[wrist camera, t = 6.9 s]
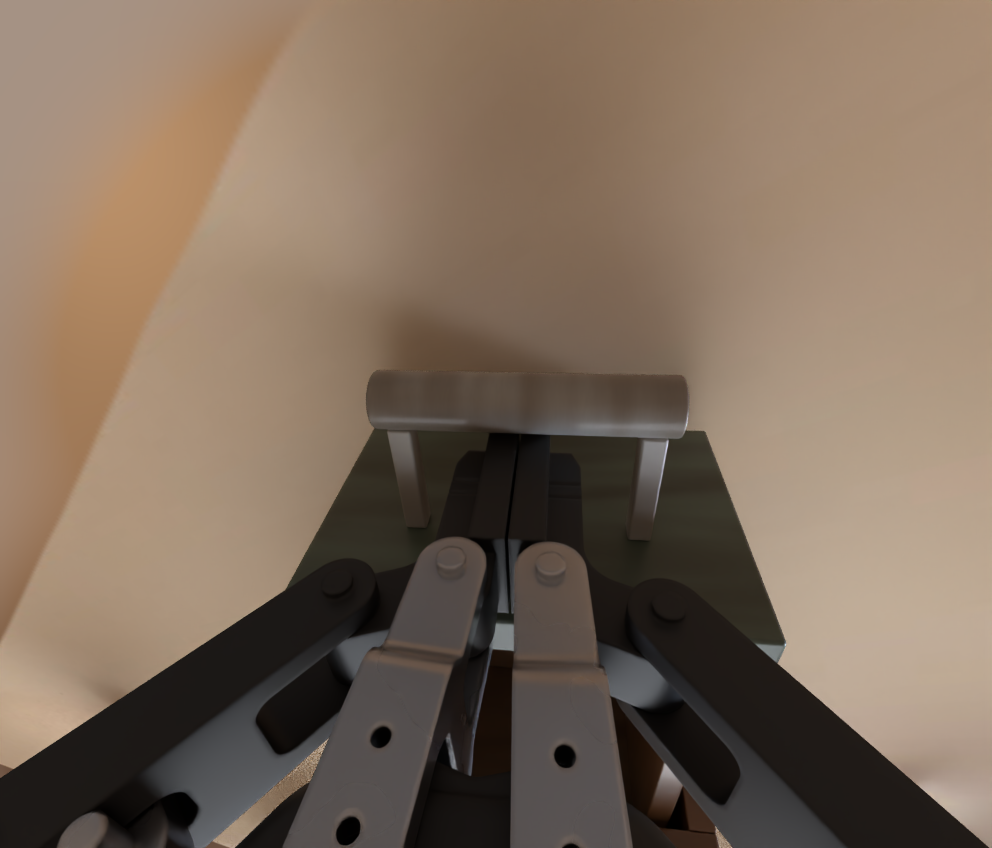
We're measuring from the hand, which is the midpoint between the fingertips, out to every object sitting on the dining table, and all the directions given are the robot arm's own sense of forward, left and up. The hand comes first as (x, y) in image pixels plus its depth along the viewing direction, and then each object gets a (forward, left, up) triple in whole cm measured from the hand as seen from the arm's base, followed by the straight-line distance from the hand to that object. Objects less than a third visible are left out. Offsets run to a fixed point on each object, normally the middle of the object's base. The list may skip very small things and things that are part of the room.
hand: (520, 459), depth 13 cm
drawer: (+7, 0, -5) cm, 9 cm away
